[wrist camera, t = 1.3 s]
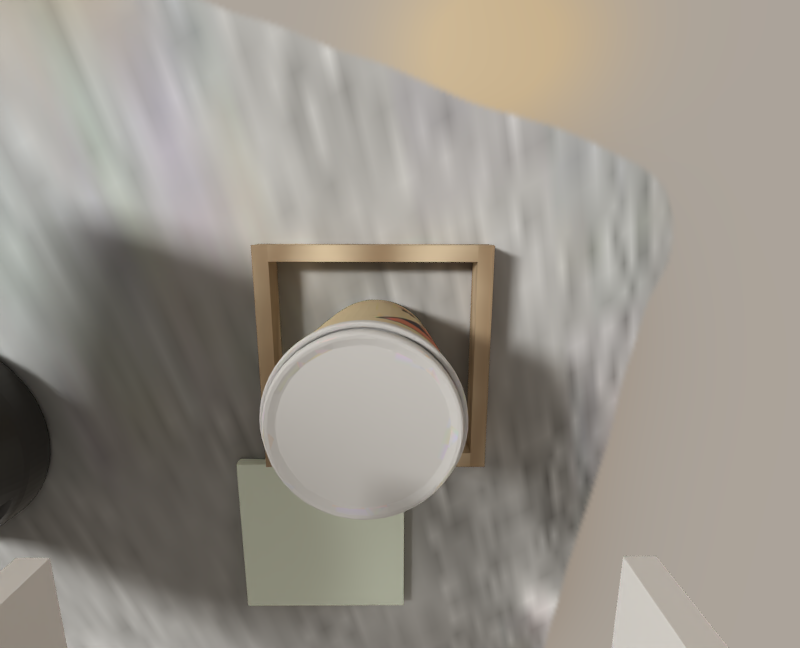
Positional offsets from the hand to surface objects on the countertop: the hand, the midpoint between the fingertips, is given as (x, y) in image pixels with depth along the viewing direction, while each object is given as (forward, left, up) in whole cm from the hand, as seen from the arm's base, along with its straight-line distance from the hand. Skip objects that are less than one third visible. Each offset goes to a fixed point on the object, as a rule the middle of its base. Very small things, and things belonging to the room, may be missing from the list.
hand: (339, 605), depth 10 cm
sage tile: (-4, -14, -21) cm, 26 cm away
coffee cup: (0, 0, -21) cm, 21 cm away
